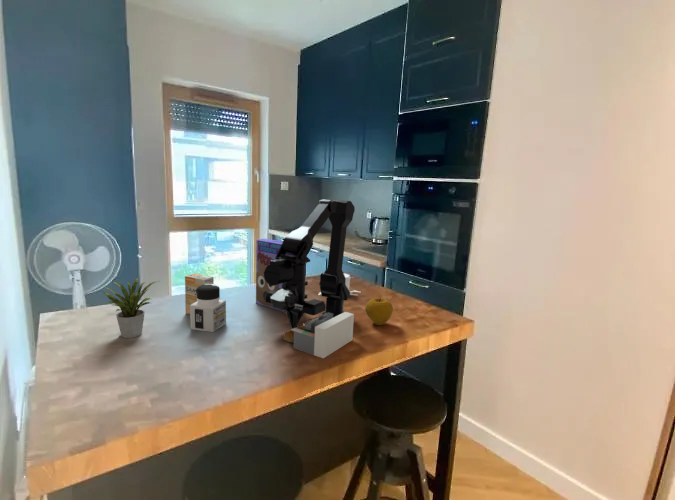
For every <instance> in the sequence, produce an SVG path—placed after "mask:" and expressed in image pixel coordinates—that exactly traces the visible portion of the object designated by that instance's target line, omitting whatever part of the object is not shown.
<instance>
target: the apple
mask: <svg viewBox="0 0 675 500" xmlns="http://www.w3.org/2000/svg"><path fill="white" fill-rule="evenodd" d="M364 309H365V313H366V315H367V317H368V318H369V319H370V320H371V322H372V323H373V324H374V325H376V326H383V325H385V324H386V323H387V322H388V321H389V320H390V318H391V317H392V314H393V309H394V307H393V304H392V302H391V301H389V300H388V299H386V298H384V297H373V298H371V299H370V300H368V301H367V303H366V305H365V307H364Z"/></svg>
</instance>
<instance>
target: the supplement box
mask: <svg viewBox="0 0 675 500" xmlns="http://www.w3.org/2000/svg"><path fill="white" fill-rule="evenodd" d="M214 279H215V277H214V276H210V275H205V274H200V273H191V274H187V275H185V276H184V292H185V295H184V296H185V297H184V298H185V299H184V300H185V301H184V303H185V304H184V306H185V314H187V315H190V305H191V304H193V303H195V302H197V288H198V287H199V286H201V285H204V284H214V281H215V280H214Z"/></svg>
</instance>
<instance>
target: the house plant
mask: <svg viewBox="0 0 675 500" xmlns="http://www.w3.org/2000/svg"><path fill="white" fill-rule="evenodd" d="M139 278H140V277H137V278H136V279H135V280H134V281H133V284H132V286H131V284H130V282H129V281H128V280H126V282H127V284H128V286H127V287H128V290H127V289H126V287H125V286H124V285H123V284H121V283H119V282H117V281H112V283H114V284H116V286H117V287H119V288H120V289H121V293H122V294H123V296H122V295H121V294H120V293H118V292H116V291H115V290H114V289H111V288H109V287H106V286H104V287H103V289H104V288H105V289H107V290H110V291H111V292H112V294H115V296H114V295H112V294H110V293H108V292H103V294H104V295H105V296H106V297H107V298H108V299H109V300H110V301H108V302H106V303H105V305H107V304H110V303H112V306H114V307H115V306H116V307H118V308H117V309H116V310H115V311H114V312H118V311H120V312H118V313H116V315H115V316H116V319H117V324H118V328H119V332H120V335H121V337H122V338H125V339H128V338H130V339H131V338H136V337H138V336H141V335H142V334H143V328H144V320H145V314H146V313H145V310H143V309H140V308H141V307H143V306H145V305H148V304H151V302H149V300H151V298H150V297H146V298H144V299H142V300H141V298H142V297H143V296H144V295H145V293H146V292H147V291H148V290H149V288H150V286H152V285H153V284H155V283H159V282H160V280H158V281H157V280H156V281H153V282H150V283H149V284H148V285H146V286H144V288H143V285H144V284H145V282H142V283H140V284H139V286H138V288H137V285H138V283H139ZM136 288H137V289H136ZM116 297H117V298H116ZM118 298H119V299H118Z"/></svg>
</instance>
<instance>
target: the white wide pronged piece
mask: <svg viewBox="0 0 675 500" xmlns="http://www.w3.org/2000/svg"><path fill="white" fill-rule="evenodd" d="M343 273H344V276H345V285H346V287H347V288H348V290H349V291H350V296H357V294H355V293H360V291H359V290H355V289H353V290H350V284H351V282H350V281H351V279H354V277H352V276H351V275H350V274H349V273H345V272H343ZM320 295H321V291H320V292H318V296H320Z"/></svg>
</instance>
